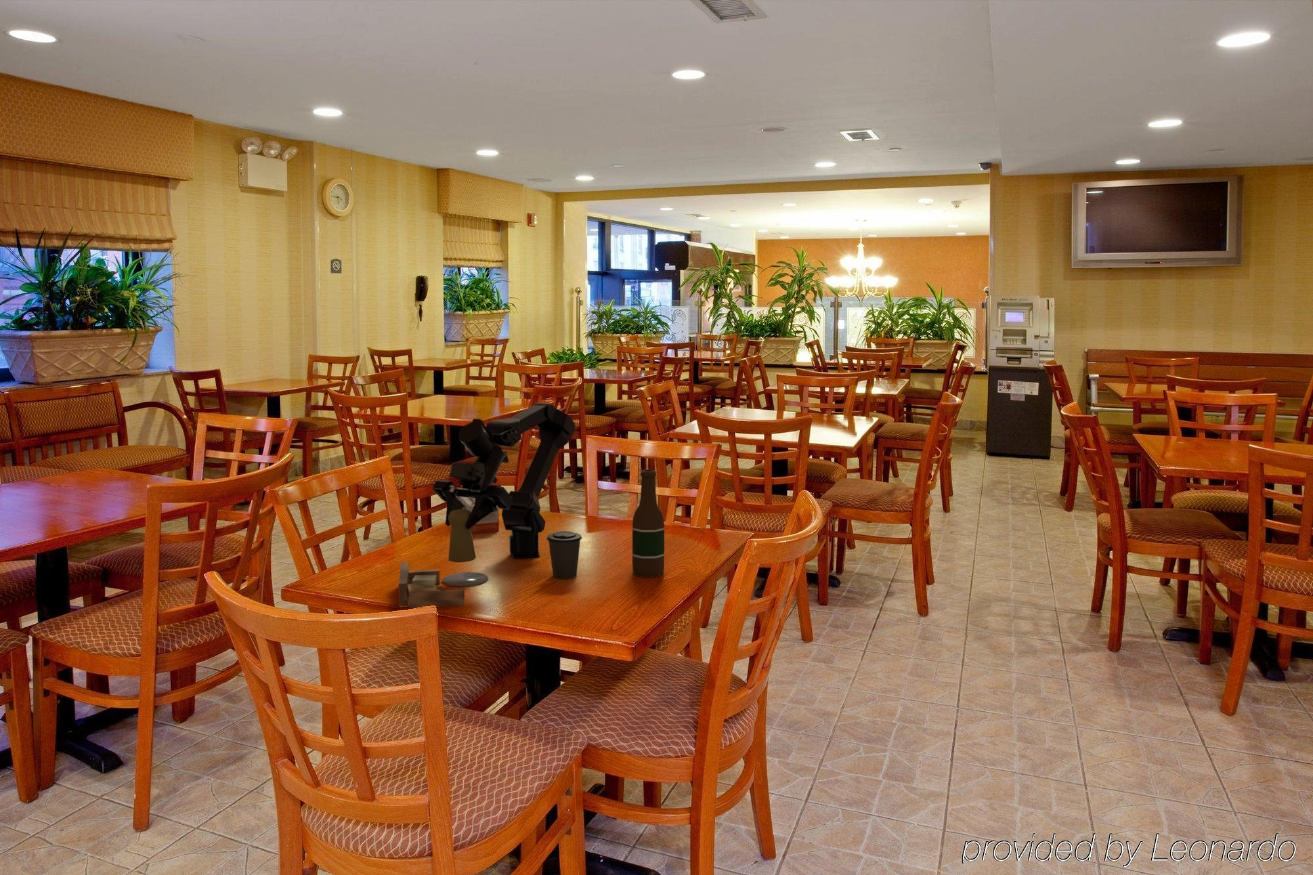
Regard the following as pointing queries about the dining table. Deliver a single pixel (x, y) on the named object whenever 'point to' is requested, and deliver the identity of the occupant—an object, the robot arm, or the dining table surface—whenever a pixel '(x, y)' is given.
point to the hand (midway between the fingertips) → (456, 526)
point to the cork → (460, 537)
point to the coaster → (465, 579)
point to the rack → (425, 589)
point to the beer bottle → (648, 531)
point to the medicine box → (485, 524)
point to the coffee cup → (564, 553)
